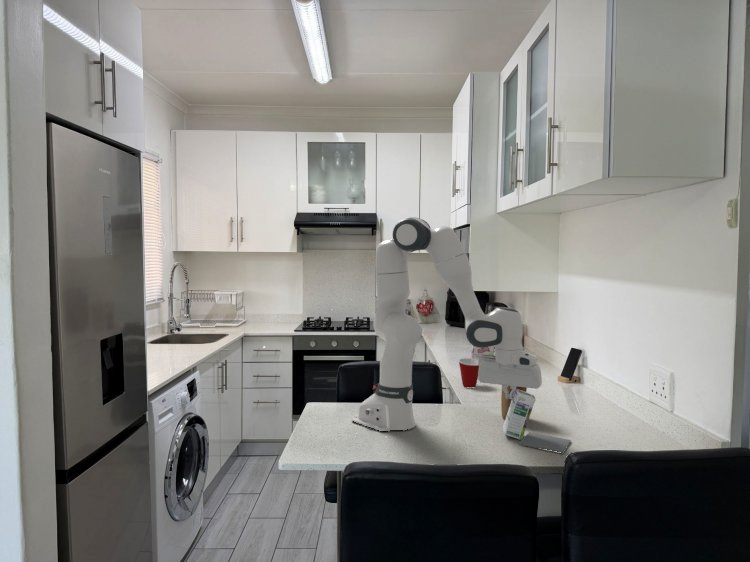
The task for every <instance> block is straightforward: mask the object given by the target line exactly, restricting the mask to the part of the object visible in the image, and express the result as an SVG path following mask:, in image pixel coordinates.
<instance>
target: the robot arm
mask: <svg viewBox="0 0 750 562" xmlns="http://www.w3.org/2000/svg"><path fill="white" fill-rule="evenodd" d="M415 251H426V252H427V253H428V255H429V256H430V258H431V260H432V263H433V265H434V268H435V270H436V273H437V274H438V275H439V277H440V279H441V281H442V282H443V283H444V285H446V286H447V287H448V288H449V289H450V290H451V292H452V293H453V294H454V296H455V298H456V301H457V303H458V304H459V306H460V309H461V312H462V314H463V317H464V333H465V336H466V339H467V341H468V342H469V343H470V345H471V346H472V345H473V346H475V347H479V348H483V347H489V346H494V345H495V351H494V356H493V355H482V356H480V357H479V359H478V365H479V372H478V379H477V381H479V382H480V384H481V383H483V384H488V385H489V384H491V385H500V386H501V390H502V389H503V391H504V392H505V393H506V399H513V393H514V391H515V390H516V386H517V387H526V388H527V389H536V390H537V389H540V387H541V386H542V384H543V380H542V379H543V378H542V371H541V367H540V365H539V364H538V361H539V358H538V356H537V355H535V354H532V353H529V352H527V351H525V350H524V349H523V347H524V346H523V344H522V339H523V321H522V315H521V313H520V312H519V311H518V310H517V309H515V308H512V307H507V306H506V307H505V306H498V307H495V309H493V310H492V311H490V312H488V313H487V314H486V313H485V312H484V311H483V309H482V308H481V306H480V303H479V301H478V298H477V296H476V293H475V291H474V289H473V283H472V275H473V274H472V269H471V264H470V260H469V257H468V255H467V252H466V250H465V248H464V246H463V244H462V242H461V240H460V239H459V237H458V234H457V233H456V232H455V230H454V229H453V228H451V227H450V226H439V227H436V228H431V226H430V224H429V223H428V222H427V221H426V220H424V219H421V218H418V217H416V216H415V217H413V216H412V217H411V216H410V217H406V218H405V217H404V218H403V219H401V220H399V221H398V222H396V224H395V225H394V227H393V229H392V238H391V239H387V240H383V241H382V242H381V241H380V242H379V244H378V245H377V246H376V250H375V279H376V281H375V282H376V291H377V292H376V293H377V297H376V299H377V301H376V311H375V318H373V323H372V325H373V326H372V327H373V330H374V332H375V333H376V334H375V335H377V336H378V338H379V339H381V340H383V341H384V342H385V346H384V351H383V355H382V357H381V358H380V361H379V382H378V383H375V385H373V386H372V387H373V388H372V390H375V391H374V393H373V394H371V395H370V396H369V397H368V398H366V399H364V401H362V402H361V404H360V405H359V408H358V413H357V414H355V415H353V416H352V418H351V422H352V421H354V422H357V423H360V424H363V425H366V426H369V427H372V428H374V429H377V430H379V431H378V432H380V431H388V432H391V431H390V430H403V431H407V429H408V430H411V429H414V428H415V427H416V426H417V423H416V420H415V416H414V411H413V410H414V408H413V398H414V397H413V395H414V390H413V389H414V387H413V386H414V385H413V382H412V380H413V377H412V375H413V359H414V354H415V351H416V347H417V344H418V343H419V342H420V340H421V338H422V335H423V329H422V325H421V324H420V323H419V321H418V320H417V319H415V317H413V316H411V315H410V314H407V313H406V307H407V301H408V298H409V296H410V294H411V293H410V280H409V279H410V277H409V269H408V267H409V266H408V257H409V255H410V253H411V254H412V253H413V252H415ZM481 357H482V358H481ZM508 386H510V389H512V391H511V392H509V391H508V389H507V387H508ZM374 429H373V430H374ZM377 430H376V431H377Z"/></svg>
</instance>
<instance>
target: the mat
mask: <svg viewBox="0 0 750 562" xmlns="http://www.w3.org/2000/svg"><path fill="white" fill-rule="evenodd" d="M570 441H571V442H572V440H571V439H567V438H564V437H563V438H562V437H557V436H552V435H546V434H542V433H541V434H540V433H538V432H537V433H536V432H532V431H528V433H527V434H526V435H525V436H523V438H522V440H520V441H519V443H518V446H521V445H522V446H521V447H525V446H528V447H527V448H530V447H534V448H533V449H535V448H541V449H547V450H552V451H557V452H561V453H563V452H564V450H565V449H566V447H567V446H568V444H569V443H570V444H571V442H570ZM570 444H569V445H570ZM568 447H569V446H568ZM568 447H567V448H568ZM566 450H567V449H566ZM566 450H565V451H566ZM564 453H565V452H564Z"/></svg>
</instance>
